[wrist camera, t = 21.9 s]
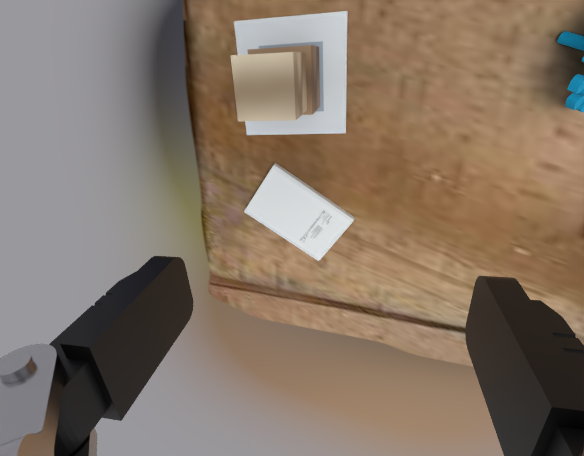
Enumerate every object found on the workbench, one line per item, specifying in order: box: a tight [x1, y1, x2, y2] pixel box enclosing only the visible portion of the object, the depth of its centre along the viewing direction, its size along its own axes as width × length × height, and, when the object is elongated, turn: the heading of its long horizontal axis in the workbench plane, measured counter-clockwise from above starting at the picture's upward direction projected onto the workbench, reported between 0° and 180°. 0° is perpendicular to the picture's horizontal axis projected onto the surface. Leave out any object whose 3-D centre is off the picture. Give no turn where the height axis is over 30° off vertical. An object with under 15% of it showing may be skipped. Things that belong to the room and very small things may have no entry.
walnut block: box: [247, 45, 320, 115], centre depth 35 cm, size 6×6×6 cm
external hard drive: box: [244, 163, 354, 261], centre depth 45 cm, size 2×8×12 cm
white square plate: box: [234, 11, 347, 135], centre depth 38 cm, size 12×12×1 cm
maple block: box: [231, 52, 307, 121], centre depth 30 cm, size 5×5×6 cm
